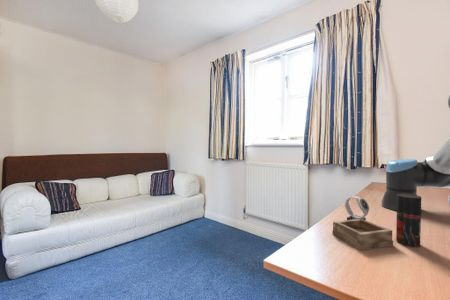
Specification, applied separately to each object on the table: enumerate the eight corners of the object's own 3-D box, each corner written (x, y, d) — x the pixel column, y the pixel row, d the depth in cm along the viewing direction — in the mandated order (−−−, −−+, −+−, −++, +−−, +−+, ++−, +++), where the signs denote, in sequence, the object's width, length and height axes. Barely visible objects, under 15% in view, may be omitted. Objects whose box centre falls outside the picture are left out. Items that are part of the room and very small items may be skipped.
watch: (364, 230, 82) (364, 200, 81) (342, 224, 88) (342, 196, 88) (371, 227, 85) (371, 198, 84) (349, 221, 91) (349, 194, 91)
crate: (360, 230, 81) (360, 218, 81) (393, 245, 70) (393, 230, 70) (332, 234, 78) (332, 221, 78) (361, 250, 67) (361, 235, 67)
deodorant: (422, 249, 67) (423, 199, 67) (397, 244, 70) (398, 196, 70) (418, 241, 72) (419, 195, 72) (395, 237, 75) (395, 192, 75)
